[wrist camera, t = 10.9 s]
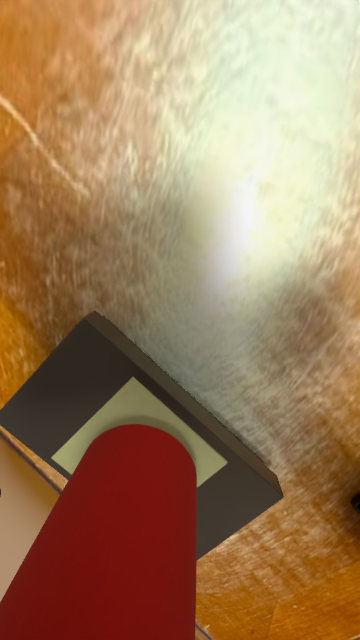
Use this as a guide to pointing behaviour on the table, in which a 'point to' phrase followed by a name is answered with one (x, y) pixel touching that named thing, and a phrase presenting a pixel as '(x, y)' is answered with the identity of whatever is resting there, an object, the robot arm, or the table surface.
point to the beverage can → (114, 547)
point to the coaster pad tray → (136, 408)
